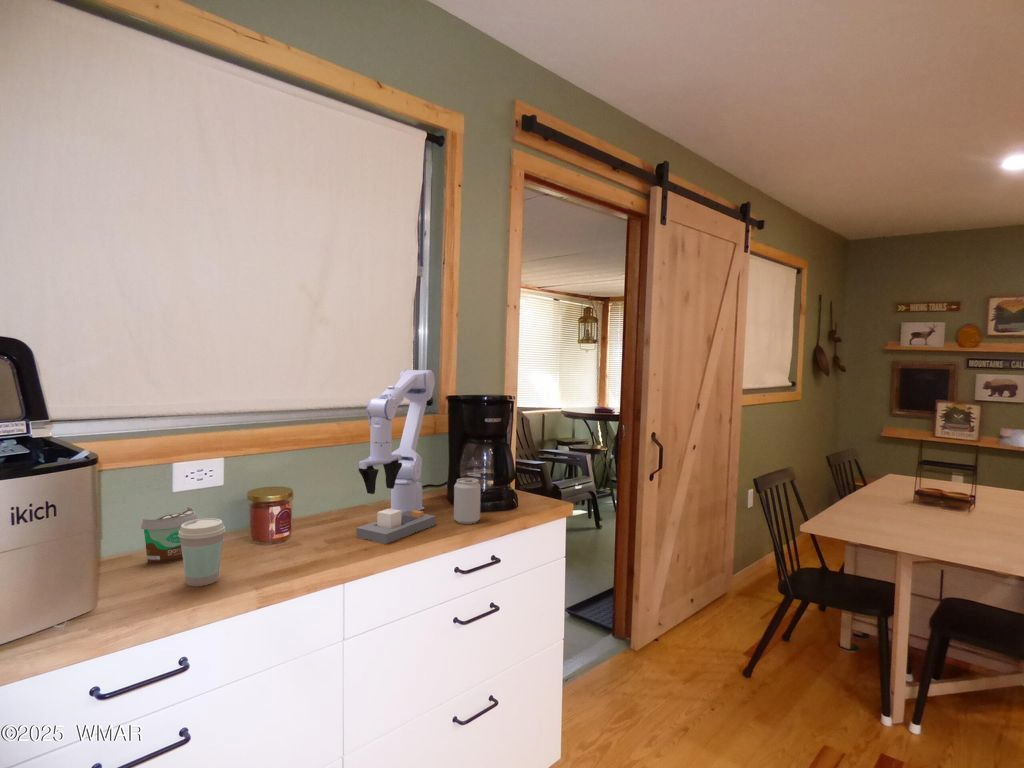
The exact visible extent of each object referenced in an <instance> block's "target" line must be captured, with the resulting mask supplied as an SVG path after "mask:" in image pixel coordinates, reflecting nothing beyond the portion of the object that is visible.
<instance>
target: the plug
mask: <svg viewBox="0 0 1024 768" xmlns="http://www.w3.org/2000/svg"><path fill="white" fill-rule="evenodd" d="M376 513H377V516H376V517H377V518H376V521H377V526H379V527H384V528H388V529H392V528H395V527H398V526H401V510H395V509H389V508H386V509H383V510H380V511H377V512H376Z"/></svg>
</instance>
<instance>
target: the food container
mask: <svg viewBox="0 0 1024 768" xmlns="http://www.w3.org/2000/svg"><path fill="white" fill-rule="evenodd" d="M197 519H198V518H197V514H196V512H195V509H194V508H193V507H189V506H188V507H187V509H186V510H184V511H183V512H179V513H174V514H173V513H171V514H166V515H164V516H160V517H159V518H156V519H146V518H143V519H142V522H141V527H140V530H143V533H144V541H145V550H146V551H145V552H146V561H147V563H148V564H149V563H150V564H164V563H165V564H166V563H173V562H177V561H181V560H183V556H182V549H181V542H180V537H178V534H179V530H180V528H181V525H182V524H183V523H185V522H188V521H192V520H197Z"/></svg>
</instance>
